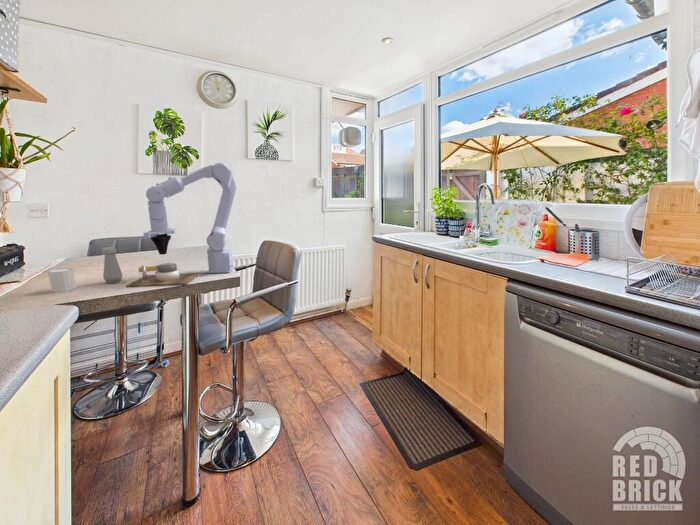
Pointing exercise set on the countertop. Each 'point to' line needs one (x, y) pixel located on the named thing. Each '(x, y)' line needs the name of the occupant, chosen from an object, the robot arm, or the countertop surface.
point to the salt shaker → (111, 266)
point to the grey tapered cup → (62, 279)
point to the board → (182, 280)
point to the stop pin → (144, 275)
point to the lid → (161, 268)
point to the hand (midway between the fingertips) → (163, 254)
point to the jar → (167, 275)
